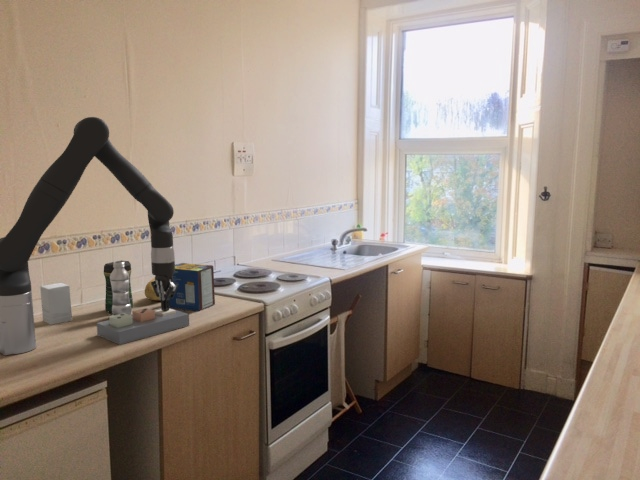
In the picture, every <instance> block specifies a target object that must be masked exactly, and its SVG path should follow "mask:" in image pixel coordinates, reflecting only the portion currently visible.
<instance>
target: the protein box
mask: <svg viewBox="0 0 640 480" xmlns="http://www.w3.org/2000/svg"><path fill="white" fill-rule="evenodd" d="M214 275H215V274H214V265H212V264H209V265H208V264H199V263H198V264H197V263H185V262H181V263H177V264H176V263H175V273H174V274H173V275H172V277H173V283H174V285H177V286H178V289H177V291H176V293H175V295H174V297H173V298H171V299H169V307H170V308H171V309H182V310H190V311H195V312H200V311H202V310H205V309H208V308H209V307H211V306H214V305H216V304H215V303H216V299H215V297H216V296H215V295H216V294H215V277H214Z"/></svg>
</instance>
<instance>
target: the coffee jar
mask: <svg viewBox="0 0 640 480" xmlns="http://www.w3.org/2000/svg"><path fill="white" fill-rule="evenodd" d="M120 261H124V262H125V267H124V269H125V270H126V271H127V272H128V274H129V299H130V304H131V308H132V309H133V308H134V301H133V295H132V294H133V293H132V283H131V275H132V265H131V262H130V261H129V260H123V259H122V260H120ZM113 262H114V261H112V262H108V263H105V264H104V265H103V275H104V278H105V303H104V306H105V308H104V310H105V311H106V312H108V313H110V314H113V313H112V305H113V292H112V286H111V282H110V274H111V273H112V271H113V270H114V268H113Z"/></svg>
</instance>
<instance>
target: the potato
mask: <svg viewBox="0 0 640 480" xmlns="http://www.w3.org/2000/svg"><path fill="white" fill-rule="evenodd" d="M152 281H155V277H153V278H152V279H150V280H149V281H147V284H146V285H145V287H144V295H145V297H146V298H147V299H148V300H151V301H161V300H160V298H159V297H157V296H156V294H155V291H154V289H153V287H152V285H151V282H152Z"/></svg>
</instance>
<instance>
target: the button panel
mask: <svg viewBox="0 0 640 480" xmlns="http://www.w3.org/2000/svg"><path fill="white" fill-rule="evenodd" d="M170 309H173V310H176V313H175V314H171V315H167V316H160V315H157V314H155V319H151V320H147V321H143V322H139V321H137V320H134V319H133V314H130V316H132V322H133V324H131V325H127V326H123V327H119V328H116V327H114V326H111V325H110V321H109V319H108V320H104V321H100V322H96V332H97V336H99V337H101V338H103V339H105V340H108V341H110V342H112V343H115V344H117V345H120V346H121V345H124V344H127V343H131V342H135V341H138V340H142V339H145V338H146V339H147V338H151V337H153V336H157V335H160V334H164V333H167V332H171V331H174V330H178V328H179V329H182V327H183V328H185V326H186V327H189V326H190V314H189V313H186V312H184V311H180V310H178V309H175V308H171V307H170ZM153 310H154V311H157V310H161V307H159V308H155V309H153Z"/></svg>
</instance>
